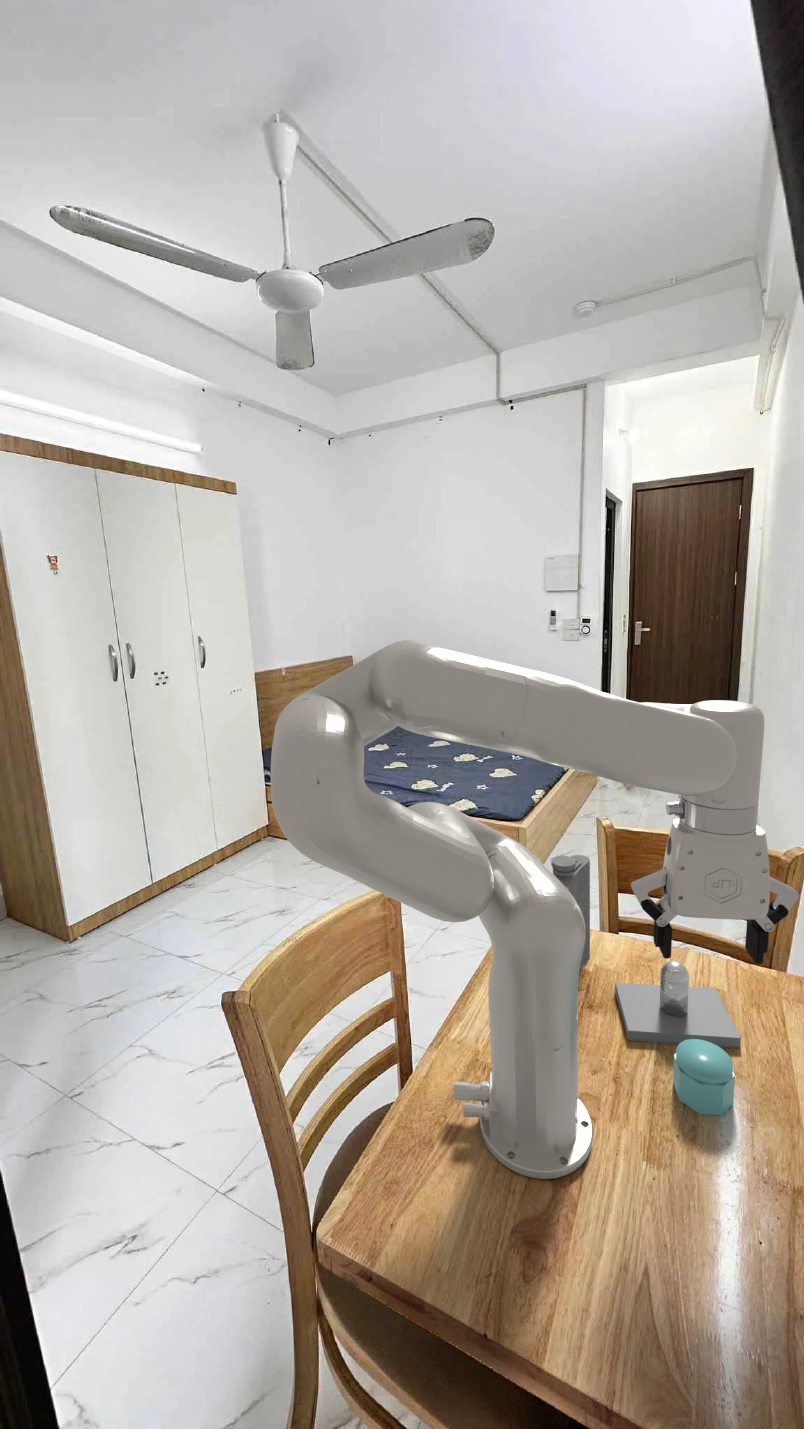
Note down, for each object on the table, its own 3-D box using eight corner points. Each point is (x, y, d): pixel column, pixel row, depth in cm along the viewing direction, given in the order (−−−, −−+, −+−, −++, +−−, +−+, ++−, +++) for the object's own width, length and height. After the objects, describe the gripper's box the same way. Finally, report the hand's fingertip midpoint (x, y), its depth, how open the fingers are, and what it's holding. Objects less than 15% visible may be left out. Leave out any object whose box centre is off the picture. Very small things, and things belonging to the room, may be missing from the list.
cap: (682, 1112, 69) (684, 1075, 68) (669, 1071, 75) (670, 1037, 74) (738, 1117, 68) (741, 1080, 67) (720, 1075, 74) (722, 1040, 73)
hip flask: (563, 1011, 86) (562, 886, 82) (536, 1003, 89) (533, 880, 85) (592, 953, 100) (592, 842, 96) (568, 947, 102) (567, 838, 98)
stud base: (628, 1040, 80) (628, 1030, 80) (615, 991, 90) (615, 982, 90) (740, 1047, 78) (740, 1038, 77) (714, 997, 87) (715, 988, 87)
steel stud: (663, 1016, 82) (664, 970, 81) (656, 999, 86) (658, 954, 84) (691, 1018, 82) (692, 971, 80) (683, 1000, 85) (685, 955, 84)
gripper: (642, 825, 63) (636, 969, 66) (822, 829, 60) (806, 979, 63) (627, 801, 70) (623, 932, 73) (787, 803, 67) (775, 939, 70)
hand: (708, 954), depth 68 cm, fingers open, 9 cm apart
